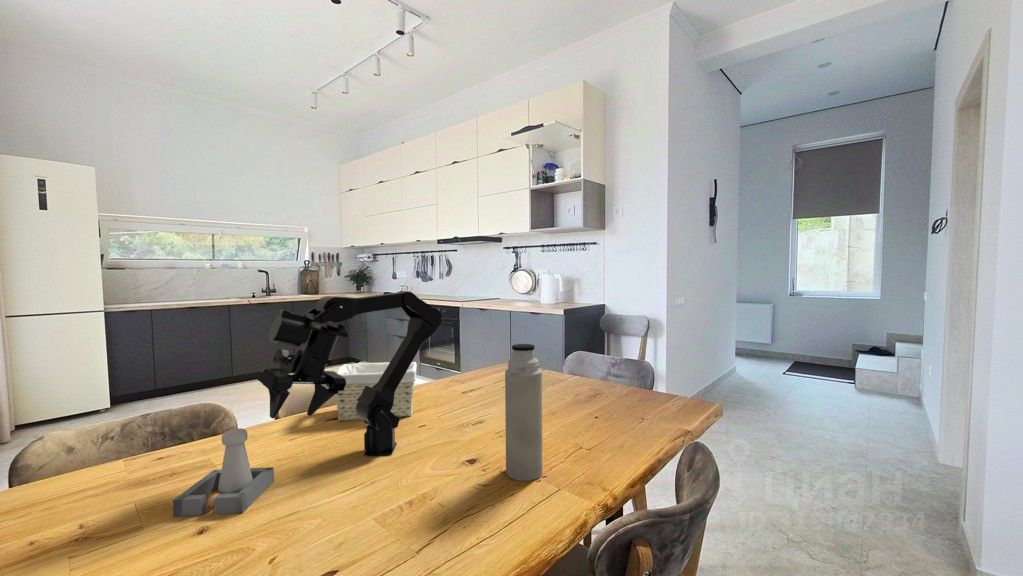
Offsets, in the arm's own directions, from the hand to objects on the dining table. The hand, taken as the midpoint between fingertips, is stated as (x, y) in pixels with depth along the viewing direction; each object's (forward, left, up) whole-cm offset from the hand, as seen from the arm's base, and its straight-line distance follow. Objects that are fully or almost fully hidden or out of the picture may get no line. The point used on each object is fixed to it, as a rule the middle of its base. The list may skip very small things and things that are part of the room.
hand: (291, 416), depth 94 cm
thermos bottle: (-51, +6, -12) cm, 53 cm away
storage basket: (-10, -39, -13) cm, 42 cm away
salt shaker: (+6, +10, -12) cm, 17 cm away
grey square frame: (+8, +11, -12) cm, 18 cm away
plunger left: (+8, +15, -11) cm, 20 cm away
